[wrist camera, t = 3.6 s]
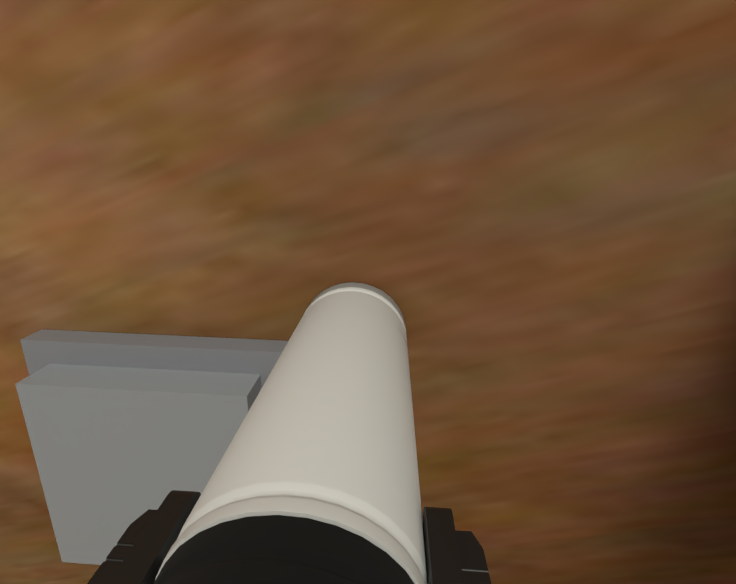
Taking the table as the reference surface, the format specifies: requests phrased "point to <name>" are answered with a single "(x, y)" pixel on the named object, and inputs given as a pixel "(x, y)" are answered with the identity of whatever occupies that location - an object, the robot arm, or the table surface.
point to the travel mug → (318, 462)
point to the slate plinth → (131, 423)
